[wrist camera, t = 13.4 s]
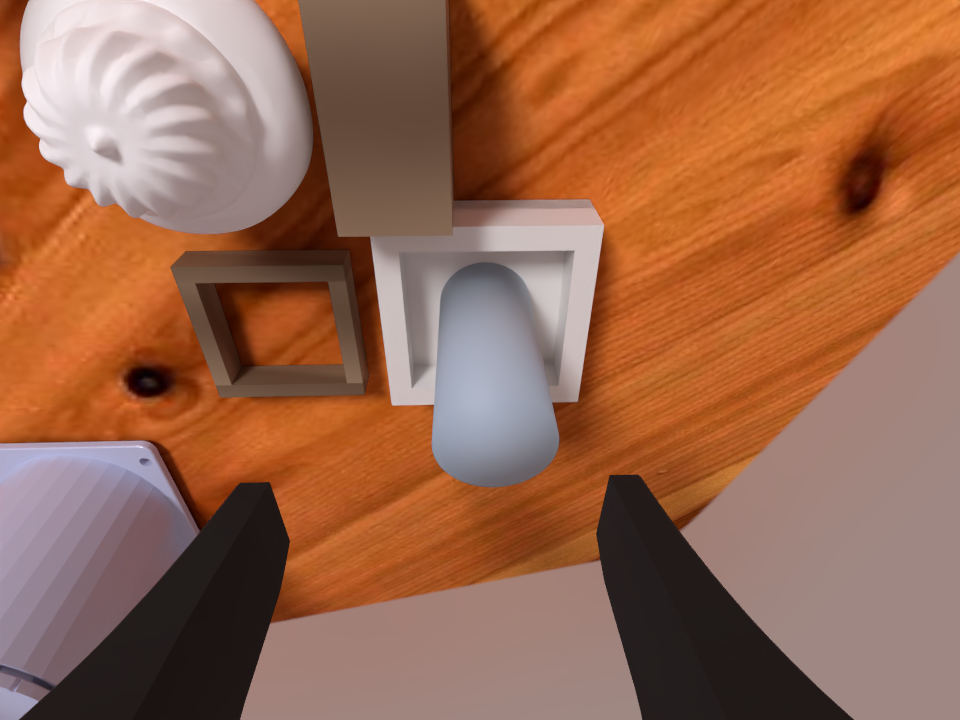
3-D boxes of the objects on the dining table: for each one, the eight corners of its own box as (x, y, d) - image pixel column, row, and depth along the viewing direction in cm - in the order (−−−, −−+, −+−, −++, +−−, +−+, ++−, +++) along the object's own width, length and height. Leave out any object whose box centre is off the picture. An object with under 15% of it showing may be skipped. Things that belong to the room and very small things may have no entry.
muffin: (111, 143, 16) (-75, 238, 10) (111, -103, 13) (-164, -158, 7) (315, 216, 18) (248, 331, 12) (362, 12, 14) (299, 41, 9)
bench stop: (453, 185, 17) (452, 235, 14) (360, 186, 17) (337, 236, 14) (447, -49, 14) (443, -54, 10) (329, -49, 13) (289, -54, 10)
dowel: (535, 331, 20) (565, 477, 14) (451, 346, 20) (448, 494, 14) (522, 254, 18) (551, 386, 12) (430, 272, 18) (416, 409, 12)
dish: (567, 366, 22) (577, 402, 20) (397, 369, 22) (391, 405, 20) (589, 199, 18) (604, 225, 16) (378, 201, 17) (369, 227, 16)
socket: (368, 375, 22) (364, 394, 21) (231, 378, 22) (220, 397, 21) (349, 249, 18) (342, 265, 17) (185, 251, 18) (170, 267, 17)
